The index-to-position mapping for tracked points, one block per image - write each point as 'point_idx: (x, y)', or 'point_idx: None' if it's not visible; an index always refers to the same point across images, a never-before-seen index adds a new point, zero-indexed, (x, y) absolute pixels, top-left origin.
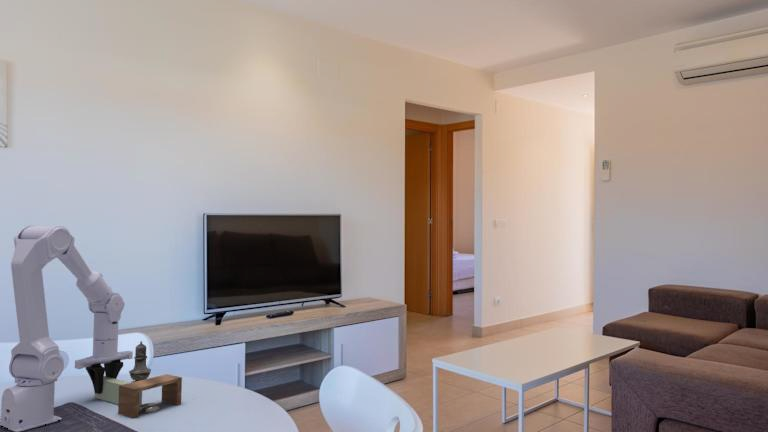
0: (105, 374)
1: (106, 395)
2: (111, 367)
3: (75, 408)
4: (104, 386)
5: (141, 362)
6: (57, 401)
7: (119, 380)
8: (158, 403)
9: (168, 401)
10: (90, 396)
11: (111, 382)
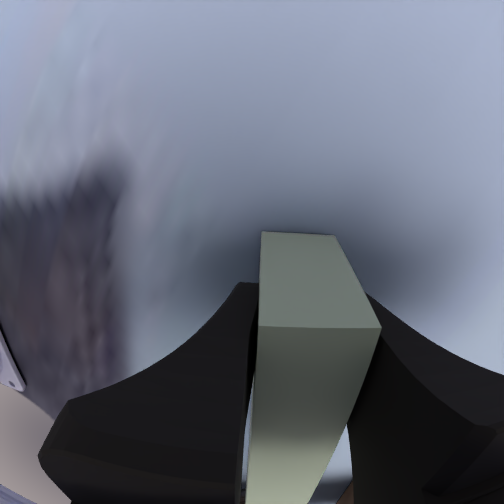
0: (393, 349)
1: (253, 377)
2: (376, 502)
3: (87, 315)
4: (252, 403)
5: None
6: (79, 82)
7: (305, 487)
8: None
9: (347, 492)
10: (279, 154)
11: (248, 481)
